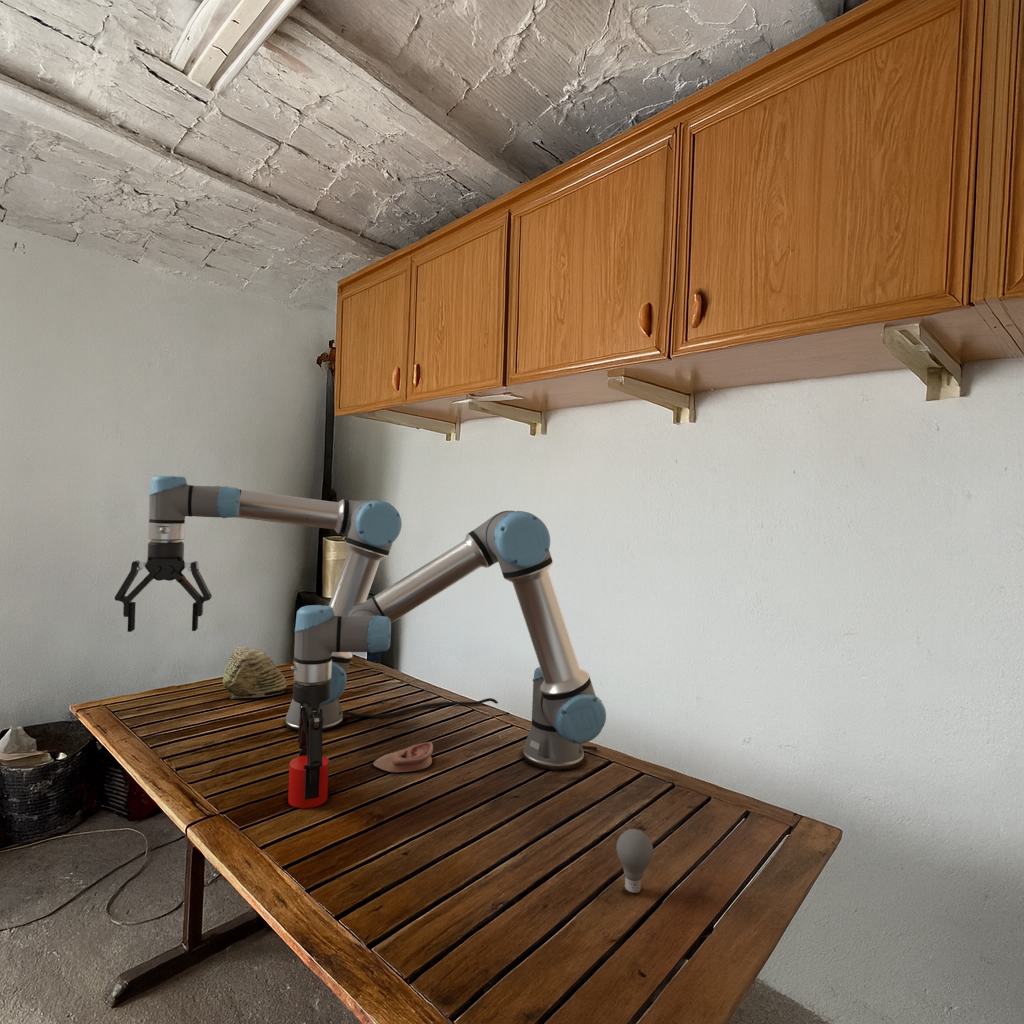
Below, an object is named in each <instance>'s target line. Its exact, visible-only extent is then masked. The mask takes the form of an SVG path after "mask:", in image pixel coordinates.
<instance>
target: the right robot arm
mask: <svg viewBox="0 0 1024 1024" xmlns="http://www.w3.org/2000/svg"><path fill="white" fill-rule="evenodd" d="M550 547H551V535H550V531H549V529H548V527H547V525H546V524H545V522H544V521H542V519H541V518H539V517H538V516H536V515H534V514H533V513H531V512H527V511H523V510H502V511H500V512H498V513H496V514H493V515H492V516H491V517H489V518H488V519H487V520H486V521H484V522H483V523H481V524H480V525H479V526H476V528H474V529H473V530H471V531H470V532H468V533H466V535H465V538H464V540H463V541H461V542H459V543H458V544H456V545H455V546H453V547H452V548H450V549H448V550H447V551H445V552H444V553H442V554H440V555H438V556H437V557H435V558H434V559H431V560H430V561H429V562H427V563H425V564H424V565H422V566H420V567H419V568H417V569H416V570H414V571H413V572H411V573H409V574H408V575H406V576H404V577H403V578H401V579H400V580H398V581H396V582H394V583H393V584H392V585H390V586H388V587H387V588H385V589H383V590H382V591H380V592H379V593H377V594H375V595H374V596H372V597H371V598H368V599H366V601H365V602H364V603H359V604H356V605H355V606H353V607H352V608H351V609H350V611H349V612H348V613H347V616H334V610H333V608H332V607H330V606H329V605H321V604H311V605H304V606H301V607H300V608H299V609H298V610H297V611H296V617H295V627H294V652H295V653H294V655H293V657H294V660H293V662H294V665H291V667H290V671H292V672H293V684H292V699H293V700H294V701H295V702H297V703H300V719H299V731H298V734H297V735H298V736H297V743H298V748H299V750H298V757H299V756H303V755H307V765H306V766H303V768H304V769H306V770H305V796H304V798H305V800H306V799H312V798H318V797H319V779H320V767H322V765H323V763H322V755H323V731H322V729H323V721H324V719H323V717H322V715H323V714H322V709H320V703H322V702H325V701H327V700H328V699H329V698H330V693H331V682H330V680H329V679H330V678H331V673H332V652H351V653H372V654H373V653H374V654H375V653H379V652H387V651H388V650H389V649H390V648H391V638H392V637H391V635H392V623H394V622H395V621H397V620H399V619H400V618H402V617H403V616H405V615H407V614H408V613H410V612H412V611H413V610H415V609H416V608H418V607H419V606H421V605H423V604H425V603H426V602H428V601H429V600H430V599H432V598H434V597H435V596H437V595H438V594H440V593H442V592H444V591H445V590H447V589H448V588H451V586H453V585H455V584H456V583H458V582H459V581H461V580H463V579H464V578H466V577H467V576H469V575H471V574H472V573H474V572H476V571H477V570H480V569H481V568H485V569H489V568H490V567H492V566H494V565H495V564H497V563H498V564H499V567H500V571H501V574H502V577H503V579H504V580H506V581H508V582H510V583H512V586H513V588H514V592H515V595H516V598H517V601H518V604H519V608H520V610H521V613H522V616H523V619H524V622H525V625H526V628H527V631H528V634H529V637H530V641H531V643H532V647H533V650H534V653H535V656H536V659H537V662H538V667H536V668H535V669H534V672H533V679H532V705H531V726H530V729H529V731H528V734H527V737H526V739H525V743H524V745H523V747H522V758H523V760H524V761H525V762H526V763H528V764H529V765H531V766H533V767H536V768H538V769H539V768H540V769H543V770H547V771H548V770H550V771H567V770H572V769H575V768H578V767H580V766H581V765H582V764H583V763H584V759H585V751H584V750H589V751H597V750H598V747H597V746H593V745H592V746H591V745H583V744H586V743H589V742H591V741H593V740H595V738H597V737H598V736H599V735H600V734H601V732H602V730H603V728H604V726H605V725H606V721H607V711H606V707H605V705H604V703H603V702H602V700H601V698H599V697H598V696H597V695H596V692H595V689H594V686H593V683H592V680H591V677H590V674H589V672H588V671H587V670H584V669H582V668H581V667H580V664H579V661H578V658H577V654H576V652H575V648H574V645H573V642H572V640H571V636H570V632H569V630H568V626H567V624H566V621H565V617H564V614H563V611H562V608H561V605H560V602H559V599H558V595H557V592H556V590H555V586H554V584H553V580H552V576H551V573H550V571H551V570H550V569H551V568H552V566H553V564H554V561H553V558H552V555H551V552H550ZM294 680H295V682H294Z"/></svg>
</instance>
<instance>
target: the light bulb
mask: <svg viewBox="0 0 1024 1024" xmlns="http://www.w3.org/2000/svg"><path fill="white" fill-rule="evenodd" d="M615 849H616V854H617V857H618V859H619V861H620V863H621V865H622V867H623V873H624V874H623V875H624V876H625V878H624V888H625V890H627V891H628V892H630V893H634V894H635V893H639V892H640V891H641V889H642V887H641V886H642V879H643V877H644V875H645V871H646V868H647V867H648V866H649V864H650V863H651V861H652V859H653V855H654V847H653V843H652V841H651V838H649V836H648V835H647V834H646V833H645V832H643V831H642V830H641V829H636V828H629V829H627V830H625V831H623V832H622V833H621V834H620V835H619V837H618V839H617V841H616V847H615Z"/></svg>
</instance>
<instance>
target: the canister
mask: <svg viewBox="0 0 1024 1024" xmlns="http://www.w3.org/2000/svg"><path fill="white" fill-rule="evenodd" d="M322 763H323V765H322V767H320V779H319V797H318V798H312V799H306V800H305V798H304V796H305V770H306V769H304V768H303V766H306V765H307V755H303V756H299V755H298V756H296V757H294V758H292V759H291V760H290V761H289V764H288V765H289V766H288V767H289V768H288V790H287V791H288V795H287V798H288V799H287V802H288V804H289V805H290V806H291V807H294V808H297V809H298V808H299V809H310V808H315V807H318V806H320V805H322V804H324V803H325V802H327V800H328V797H329V774H330V773H329V769H330V759H329V757H327V756H325V755H323V754H322Z"/></svg>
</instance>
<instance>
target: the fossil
mask: <svg viewBox="0 0 1024 1024" xmlns="http://www.w3.org/2000/svg"><path fill="white" fill-rule="evenodd" d="M222 676H223V677H222V685H223V687H224V688H225V690H226V691H228V693H229V698H230V699H250V698H264V697H271V696H275V695H281V694H284V693H285V691H286V689H287V687H288V686H287V680H286V678H285V676H284V674H283V673H282V672H281V669H279V668H278V667H277V665H276V663H275V662H274V660H273V659H272V658H271V657H270V656H269V655H268V654H267V653H266V652H265V650H264V649H263V648H260V647H258V648H251V647H247V646H246V647H245V646H238V647H237V648H236V649H235V650H233V651H232V653H231V656H230V657H229V659H228V660H227V663H226V666H225V668H224V671H223V675H222Z"/></svg>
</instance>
